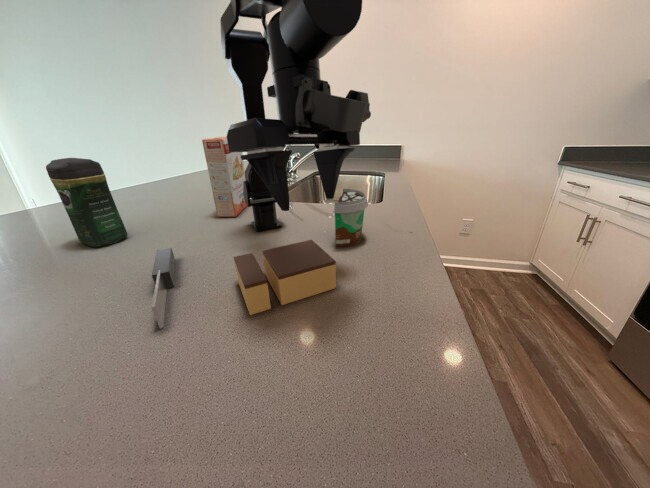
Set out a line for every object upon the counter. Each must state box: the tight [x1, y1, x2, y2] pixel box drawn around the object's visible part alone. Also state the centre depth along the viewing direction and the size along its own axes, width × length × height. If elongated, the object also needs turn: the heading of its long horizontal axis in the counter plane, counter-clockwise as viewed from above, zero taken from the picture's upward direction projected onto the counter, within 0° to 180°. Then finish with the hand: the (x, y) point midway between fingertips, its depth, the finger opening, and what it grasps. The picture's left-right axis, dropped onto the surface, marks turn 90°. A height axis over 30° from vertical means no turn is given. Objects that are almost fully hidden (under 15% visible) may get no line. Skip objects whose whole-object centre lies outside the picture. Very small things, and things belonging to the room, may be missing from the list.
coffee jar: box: [45, 157, 128, 248], centre depth 57 cm, size 10×8×19 cm
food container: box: [333, 188, 369, 248], centre depth 56 cm, size 12×6×10 cm, turn 168°
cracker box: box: [201, 136, 248, 218], centre depth 75 cm, size 14×6×21 cm, turn 179°
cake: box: [261, 239, 337, 306], centre depth 42 cm, size 9×9×5 cm
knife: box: [151, 247, 177, 330], centre depth 41 cm, size 20×2×4 cm, turn 27°
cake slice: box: [233, 252, 272, 316], centre depth 39 cm, size 9×3×5 cm, turn 27°
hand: (309, 204), depth 36 cm, fingers open, 9 cm apart
